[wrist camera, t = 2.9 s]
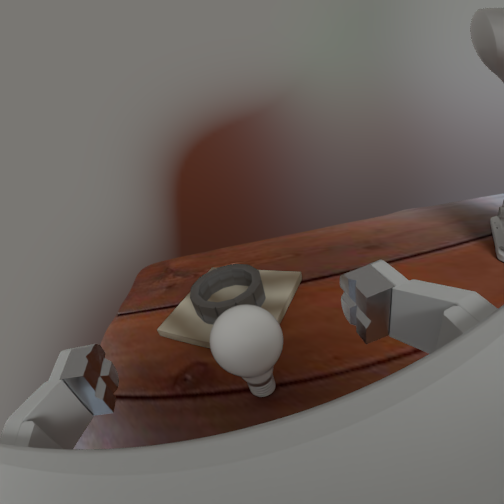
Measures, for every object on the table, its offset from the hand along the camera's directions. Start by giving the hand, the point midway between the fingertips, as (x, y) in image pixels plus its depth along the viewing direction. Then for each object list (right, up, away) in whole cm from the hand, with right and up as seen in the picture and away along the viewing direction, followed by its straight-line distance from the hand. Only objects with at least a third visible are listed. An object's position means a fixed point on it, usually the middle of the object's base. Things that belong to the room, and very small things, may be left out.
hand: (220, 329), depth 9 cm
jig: (-2, -6, +33) cm, 34 cm away
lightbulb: (+2, -12, +20) cm, 23 cm away
